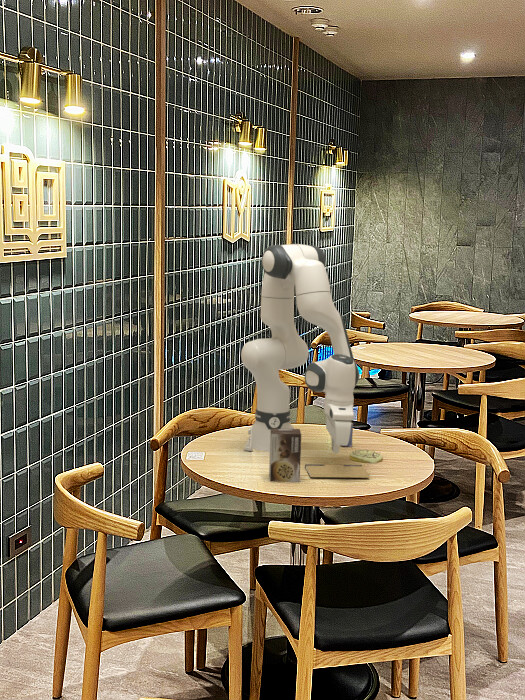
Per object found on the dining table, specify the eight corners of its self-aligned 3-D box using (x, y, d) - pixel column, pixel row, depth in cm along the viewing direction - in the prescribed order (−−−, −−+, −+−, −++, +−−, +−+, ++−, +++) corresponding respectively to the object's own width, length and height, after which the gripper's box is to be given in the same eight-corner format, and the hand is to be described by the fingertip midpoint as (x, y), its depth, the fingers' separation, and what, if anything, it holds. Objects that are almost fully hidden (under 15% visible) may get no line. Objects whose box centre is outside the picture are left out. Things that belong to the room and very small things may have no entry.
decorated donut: (378, 469, 269) (378, 458, 268) (345, 465, 272) (346, 454, 272) (385, 461, 278) (385, 450, 278) (353, 457, 282) (354, 446, 281)
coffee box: (298, 480, 253) (300, 428, 250) (299, 486, 246) (302, 433, 244) (268, 479, 252) (270, 427, 250) (269, 486, 246) (271, 432, 244)
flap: (304, 471, 263) (304, 463, 262) (360, 471, 264) (360, 464, 264) (310, 481, 250) (310, 473, 250) (369, 482, 252) (369, 474, 251)
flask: (353, 448, 294) (355, 418, 292) (347, 449, 292) (348, 419, 291) (335, 442, 301) (337, 413, 300) (329, 443, 299) (331, 414, 298)
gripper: (323, 399, 265) (319, 441, 267) (334, 415, 245) (330, 461, 247) (342, 400, 266) (339, 442, 268) (355, 416, 246) (351, 461, 248)
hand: (335, 451), depth 257 cm, fingers closed
